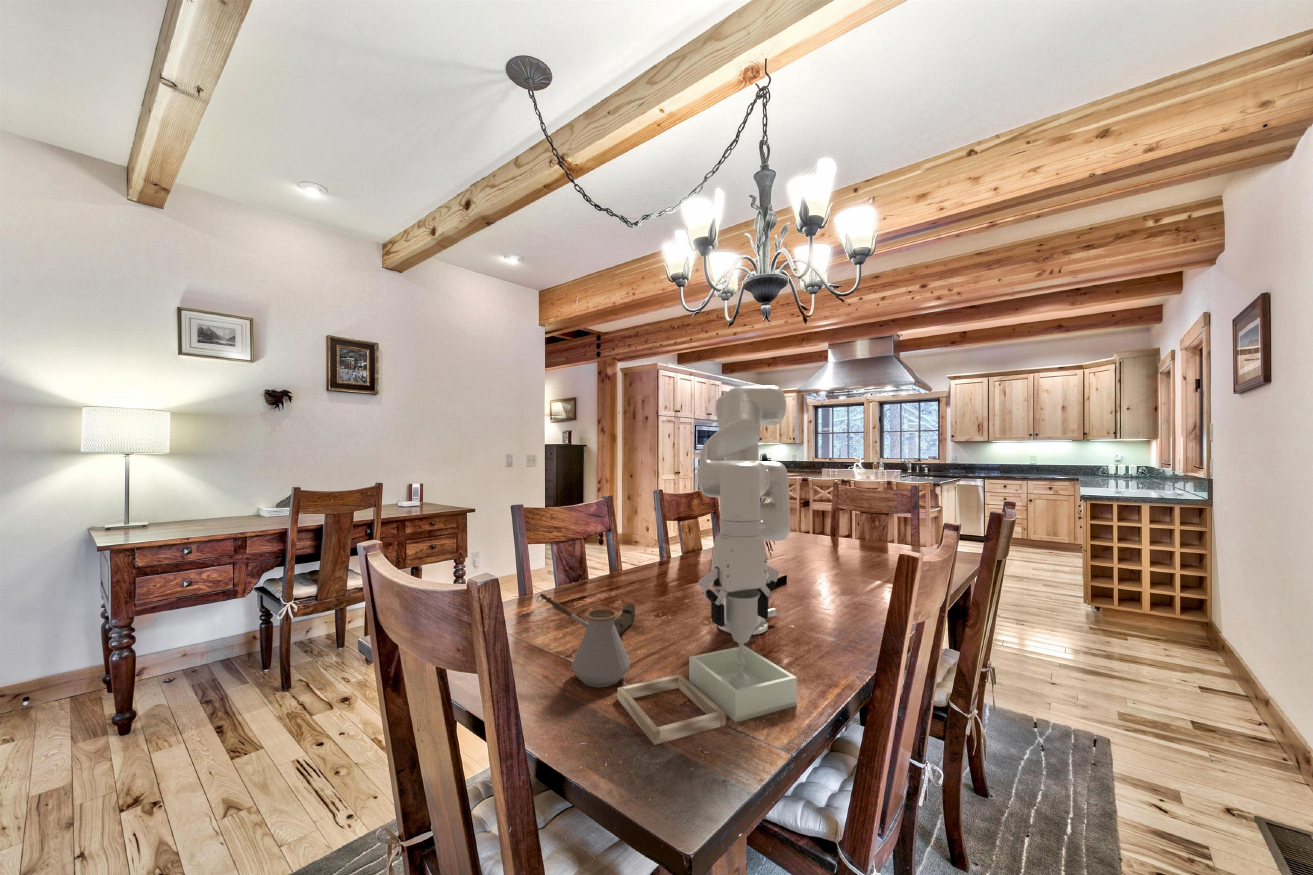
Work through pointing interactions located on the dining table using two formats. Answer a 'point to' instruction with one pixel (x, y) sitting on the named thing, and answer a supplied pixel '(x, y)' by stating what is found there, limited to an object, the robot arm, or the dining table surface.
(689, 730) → the ash frame
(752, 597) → the chalice
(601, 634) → the coffee pot
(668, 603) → the dining table surface
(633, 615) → the hand tool
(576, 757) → the dining table surface
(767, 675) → the sage bin
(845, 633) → the dining table surface
